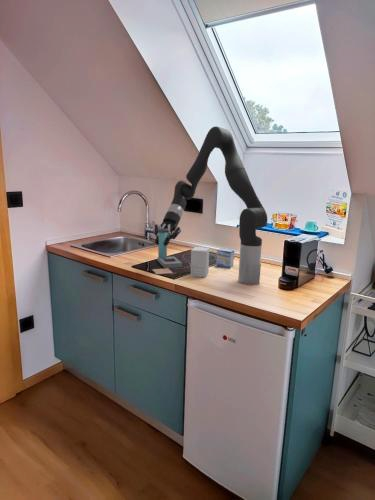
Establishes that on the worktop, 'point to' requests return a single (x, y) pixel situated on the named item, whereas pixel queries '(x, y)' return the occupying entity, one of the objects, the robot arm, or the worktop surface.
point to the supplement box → (199, 262)
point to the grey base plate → (170, 262)
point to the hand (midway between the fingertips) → (160, 244)
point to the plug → (162, 243)
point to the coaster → (162, 271)
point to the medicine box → (225, 258)
